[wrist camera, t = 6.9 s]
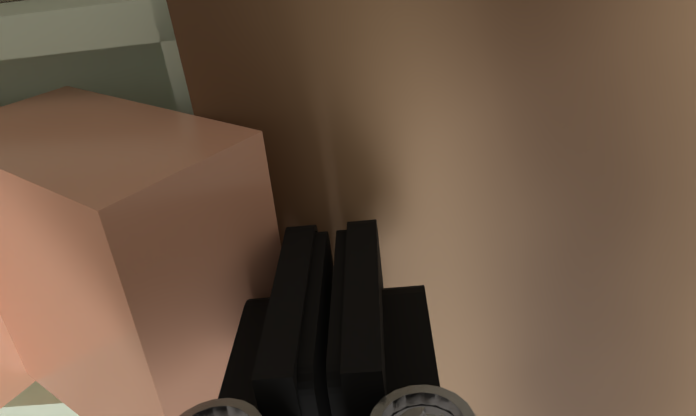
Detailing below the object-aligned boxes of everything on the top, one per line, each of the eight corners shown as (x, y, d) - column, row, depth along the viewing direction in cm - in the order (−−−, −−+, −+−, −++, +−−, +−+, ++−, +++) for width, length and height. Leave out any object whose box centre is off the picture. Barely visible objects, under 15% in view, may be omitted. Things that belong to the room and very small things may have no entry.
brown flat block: (890, -116, 12) (1102, -118, 9) (777, 316, 17) (883, 425, 14) (217, -33, 13) (164, -5, 10) (294, 352, 18) (278, 462, 15)
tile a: (261, 131, 10) (97, 211, 8) (306, 399, 13) (194, 508, 11) (66, 85, 13) (-83, 133, 11) (136, 305, 16) (27, 374, 14)
